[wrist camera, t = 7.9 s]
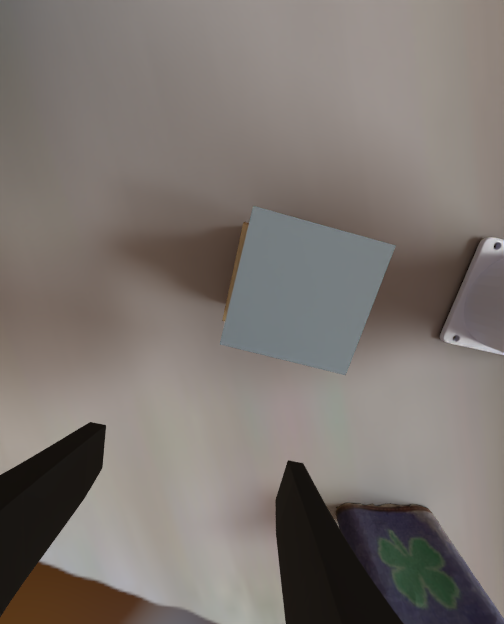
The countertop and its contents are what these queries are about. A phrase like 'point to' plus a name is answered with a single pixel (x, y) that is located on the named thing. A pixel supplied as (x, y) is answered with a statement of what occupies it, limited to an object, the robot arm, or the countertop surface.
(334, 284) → the slate block
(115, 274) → the countertop surface
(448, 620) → the flask
